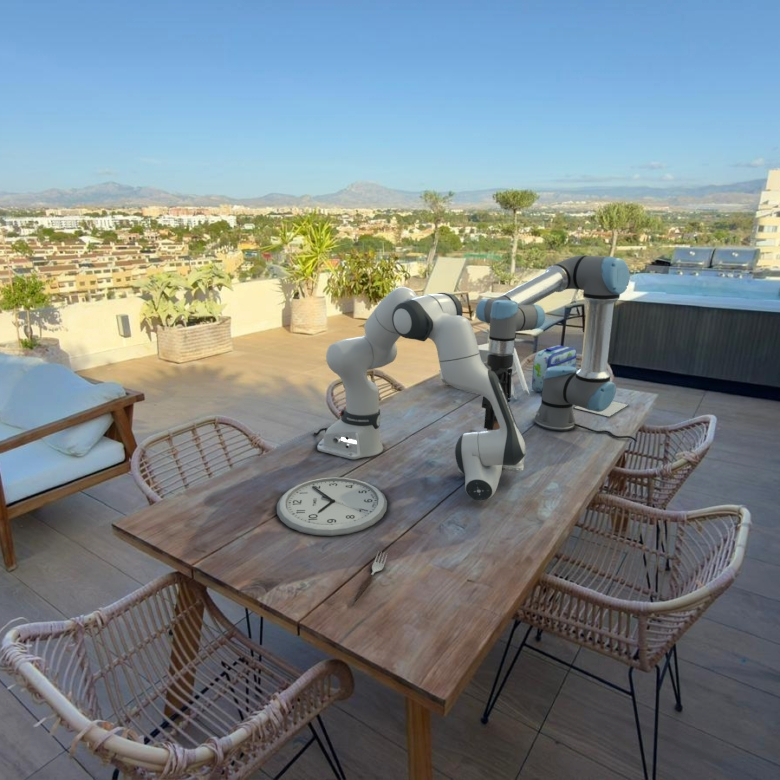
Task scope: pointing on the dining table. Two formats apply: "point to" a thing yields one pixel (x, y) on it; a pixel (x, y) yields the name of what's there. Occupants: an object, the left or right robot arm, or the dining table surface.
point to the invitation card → (607, 409)
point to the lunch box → (551, 363)
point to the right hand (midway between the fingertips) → (494, 424)
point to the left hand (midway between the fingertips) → (493, 448)
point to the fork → (375, 568)
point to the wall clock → (331, 506)
